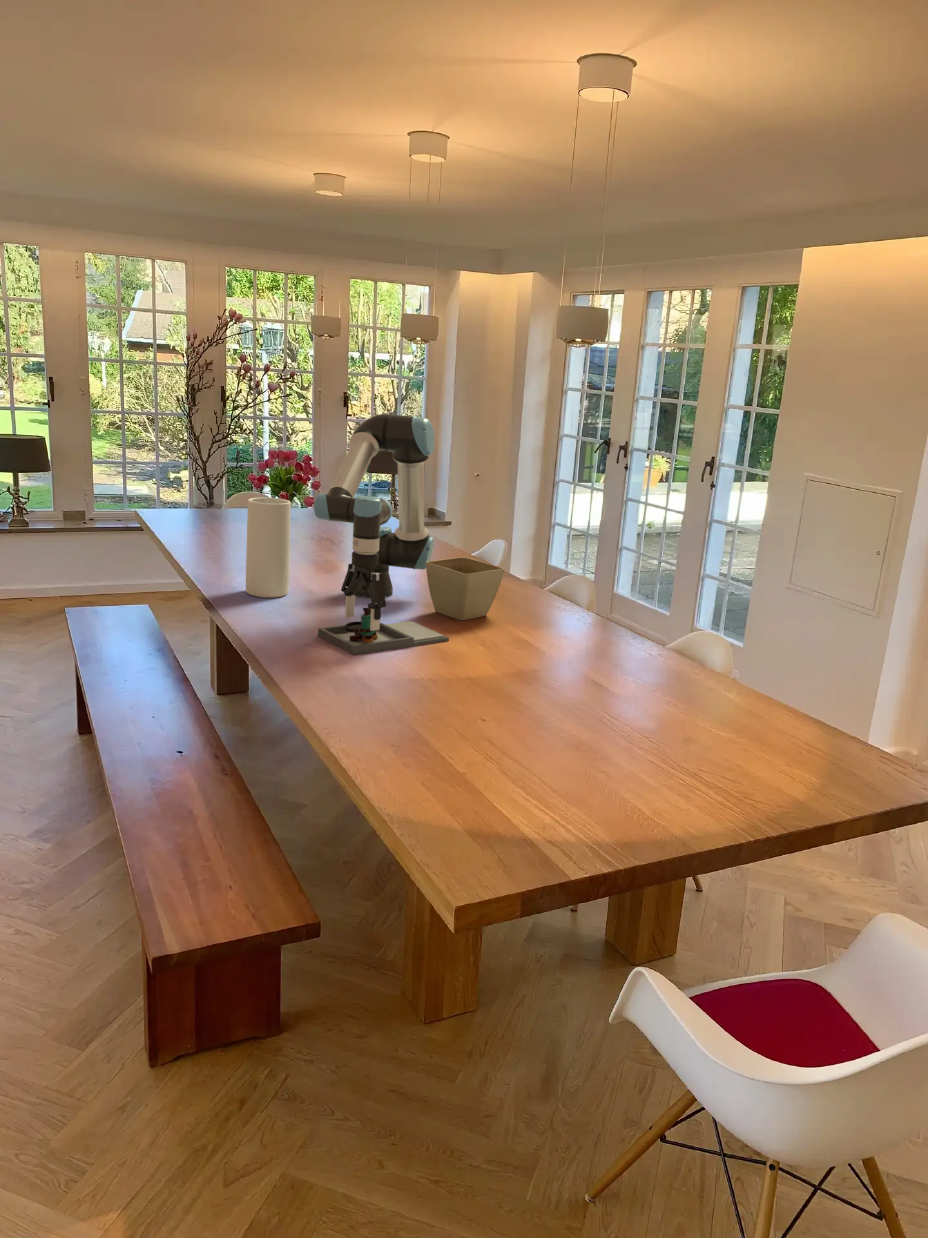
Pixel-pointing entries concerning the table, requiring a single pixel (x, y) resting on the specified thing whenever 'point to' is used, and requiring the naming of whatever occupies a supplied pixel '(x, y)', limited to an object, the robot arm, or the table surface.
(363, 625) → the binoculars
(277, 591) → the vase
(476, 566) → the flower pot
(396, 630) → the case
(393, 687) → the table surface
